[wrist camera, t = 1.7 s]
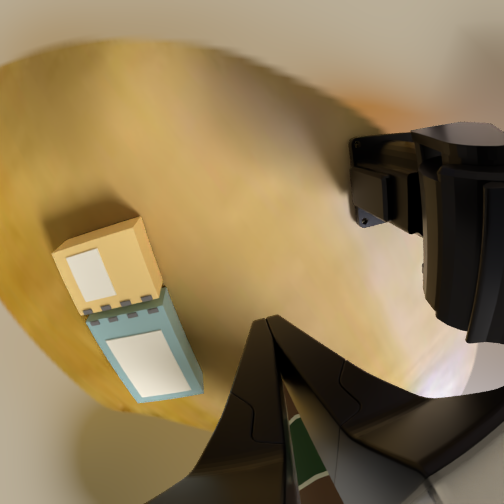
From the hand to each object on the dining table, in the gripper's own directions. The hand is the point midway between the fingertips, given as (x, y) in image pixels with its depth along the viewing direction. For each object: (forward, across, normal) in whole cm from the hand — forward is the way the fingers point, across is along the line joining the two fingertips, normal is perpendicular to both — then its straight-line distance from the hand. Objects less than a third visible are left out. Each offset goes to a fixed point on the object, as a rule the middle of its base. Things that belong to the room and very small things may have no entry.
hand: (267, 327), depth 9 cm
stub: (+11, +9, 0) cm, 14 cm away
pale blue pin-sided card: (+11, +9, +8) cm, 16 cm away
